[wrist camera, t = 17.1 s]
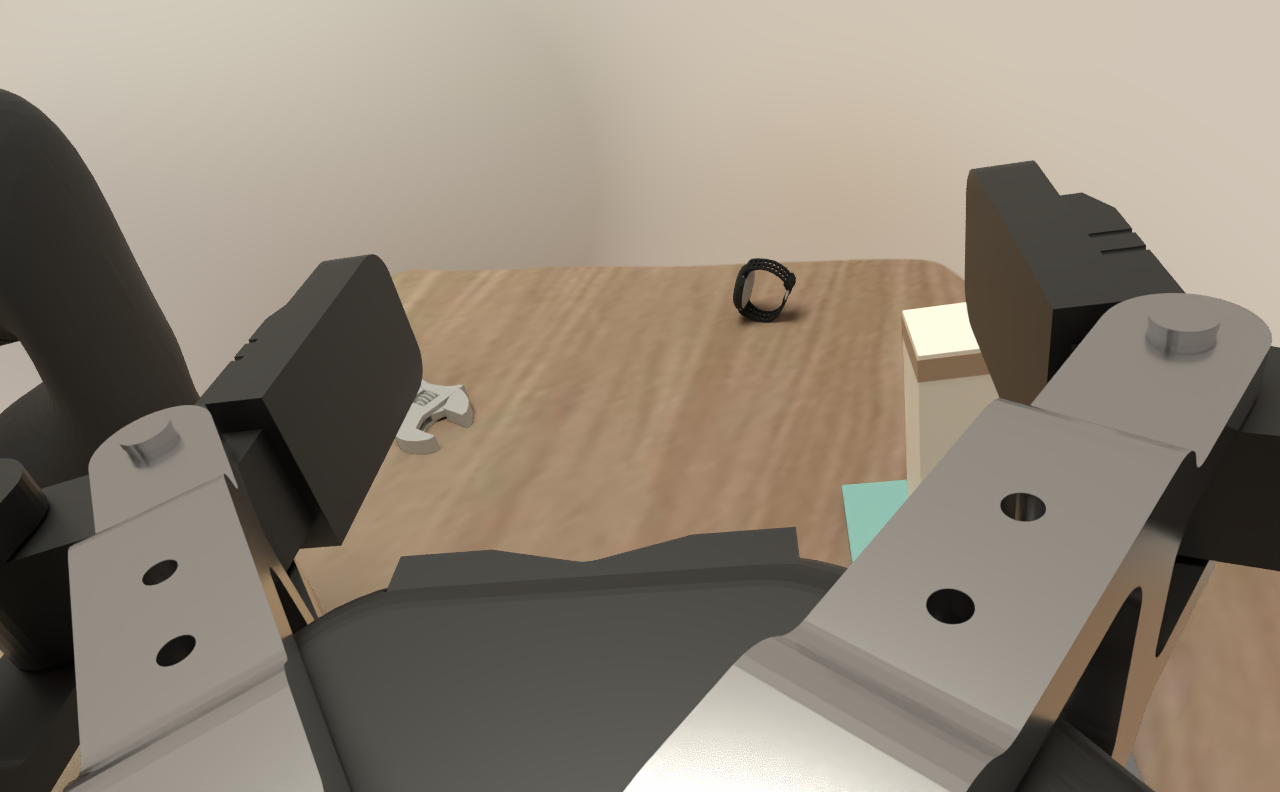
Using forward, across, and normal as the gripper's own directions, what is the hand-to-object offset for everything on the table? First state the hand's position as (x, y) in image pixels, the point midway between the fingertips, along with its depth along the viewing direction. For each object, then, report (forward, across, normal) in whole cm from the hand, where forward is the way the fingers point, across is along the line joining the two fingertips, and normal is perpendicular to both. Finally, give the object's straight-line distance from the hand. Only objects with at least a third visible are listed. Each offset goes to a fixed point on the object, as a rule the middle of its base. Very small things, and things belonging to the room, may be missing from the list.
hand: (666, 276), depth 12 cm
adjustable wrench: (+50, +31, +33) cm, 67 cm away
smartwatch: (+52, +1, +32) cm, 61 cm away
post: (+25, -9, +31) cm, 41 cm away
